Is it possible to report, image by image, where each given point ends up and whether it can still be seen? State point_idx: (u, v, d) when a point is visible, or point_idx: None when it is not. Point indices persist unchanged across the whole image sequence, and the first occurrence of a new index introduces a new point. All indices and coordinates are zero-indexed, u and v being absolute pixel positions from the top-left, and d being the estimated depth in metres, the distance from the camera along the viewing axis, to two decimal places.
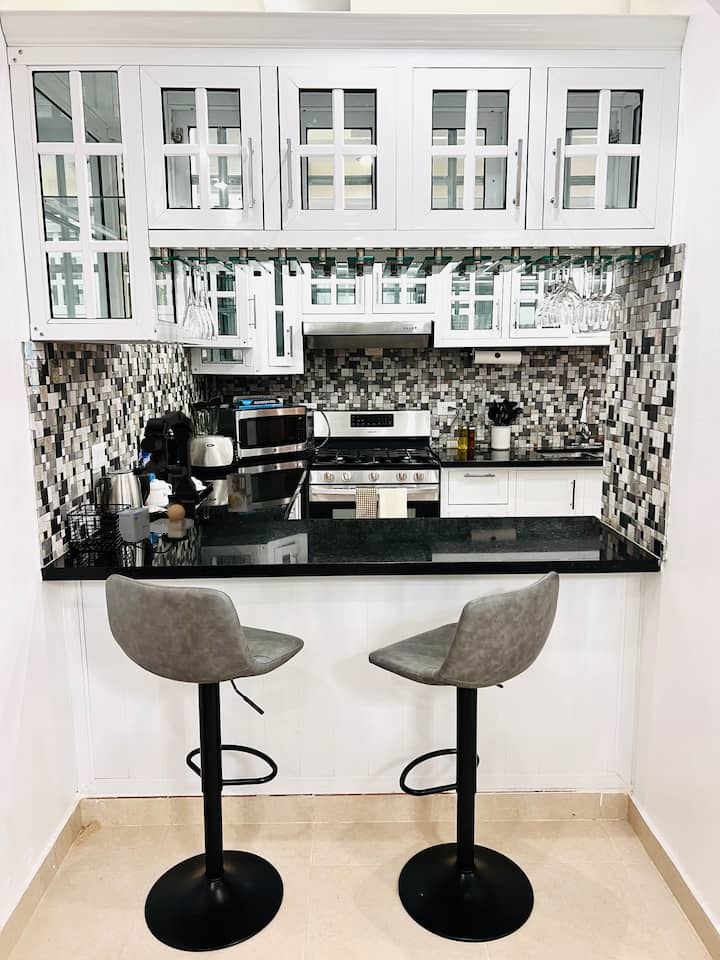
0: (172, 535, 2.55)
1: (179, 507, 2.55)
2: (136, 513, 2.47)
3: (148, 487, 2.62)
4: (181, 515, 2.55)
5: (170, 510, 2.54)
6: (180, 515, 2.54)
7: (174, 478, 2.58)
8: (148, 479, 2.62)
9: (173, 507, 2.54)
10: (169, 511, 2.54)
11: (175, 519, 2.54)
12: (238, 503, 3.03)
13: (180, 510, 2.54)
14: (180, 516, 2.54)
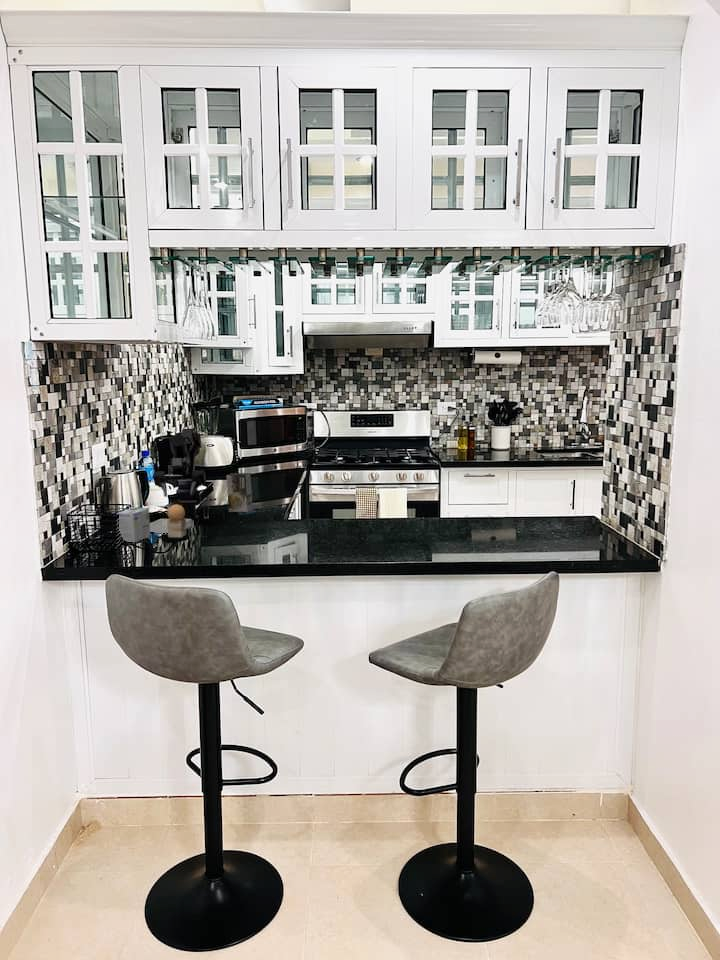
0: (172, 535, 2.55)
1: (179, 507, 2.55)
2: (136, 513, 2.47)
3: (166, 490, 2.64)
4: (181, 515, 2.55)
5: (170, 510, 2.54)
6: (180, 515, 2.54)
7: (195, 478, 2.66)
8: (166, 486, 2.67)
9: (173, 507, 2.54)
10: (169, 511, 2.54)
11: (175, 519, 2.54)
12: (238, 503, 3.03)
13: (180, 510, 2.54)
14: (180, 516, 2.54)
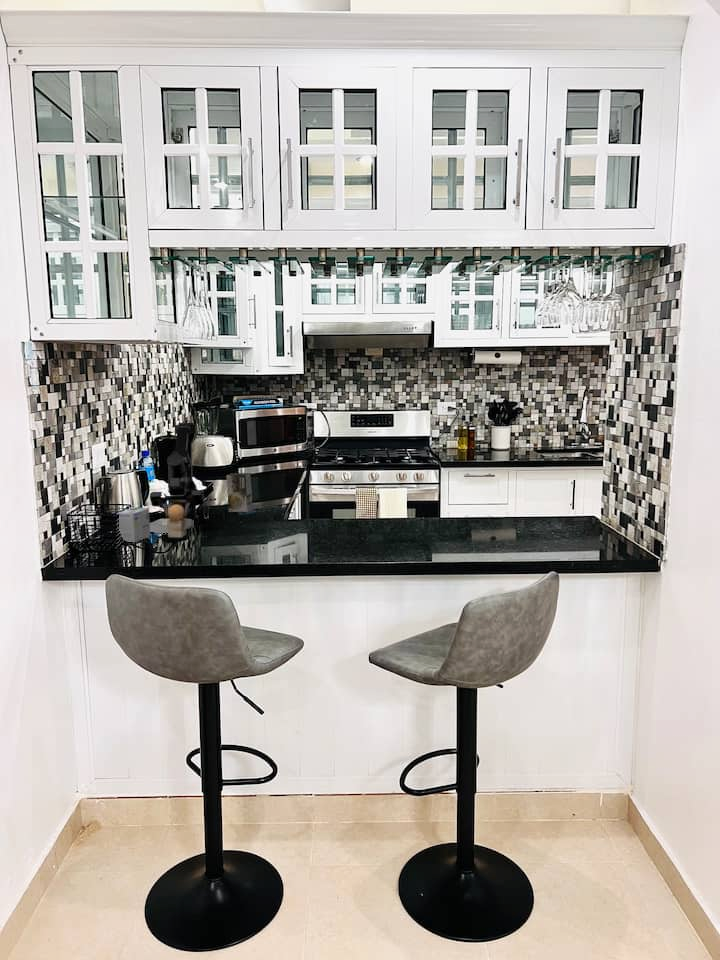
0: (172, 535, 2.55)
1: (179, 507, 2.55)
2: (136, 513, 2.47)
3: (167, 511, 2.56)
4: (181, 515, 2.55)
5: (170, 510, 2.54)
6: (180, 515, 2.54)
7: (189, 499, 2.57)
8: (167, 506, 2.59)
9: (173, 507, 2.54)
10: (169, 511, 2.54)
11: (175, 519, 2.54)
12: (238, 503, 3.03)
13: (180, 510, 2.54)
14: (180, 516, 2.54)
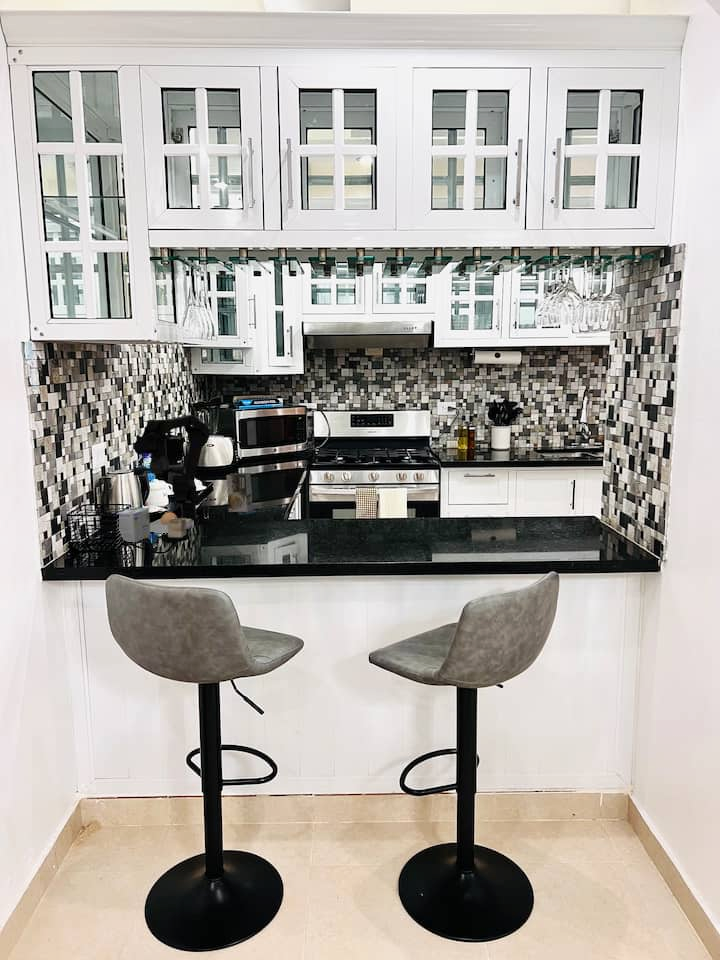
0: (172, 535, 2.55)
1: None
2: (136, 513, 2.47)
3: (148, 486, 2.74)
4: None
5: (164, 523, 2.66)
6: None
7: (176, 477, 2.73)
8: (147, 478, 2.75)
9: (166, 521, 2.65)
10: (163, 523, 2.66)
11: None
12: (238, 503, 3.03)
13: None
14: None
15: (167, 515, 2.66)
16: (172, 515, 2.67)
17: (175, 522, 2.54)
